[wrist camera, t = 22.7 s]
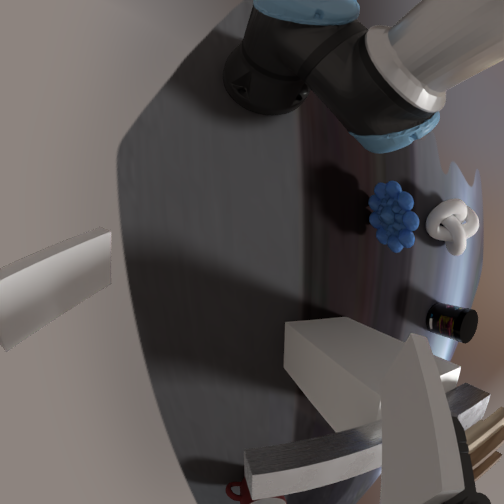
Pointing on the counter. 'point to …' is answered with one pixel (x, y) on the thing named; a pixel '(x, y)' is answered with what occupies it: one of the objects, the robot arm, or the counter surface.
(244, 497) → the mug
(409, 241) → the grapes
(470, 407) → the steel bar
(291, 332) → the block
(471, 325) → the supplement container
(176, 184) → the counter surface
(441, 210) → the white twisted tube knot
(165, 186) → the counter surface
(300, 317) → the counter surface
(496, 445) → the stand
